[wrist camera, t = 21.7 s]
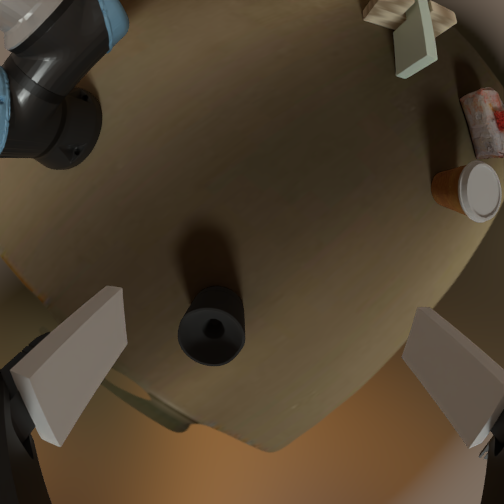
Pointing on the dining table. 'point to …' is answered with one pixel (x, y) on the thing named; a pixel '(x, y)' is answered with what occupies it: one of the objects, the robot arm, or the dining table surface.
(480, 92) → the food item
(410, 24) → the sage slotted plate
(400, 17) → the birch slotted plate
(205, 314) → the pen holder
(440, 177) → the disposable coffee cup
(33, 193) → the dining table surface
